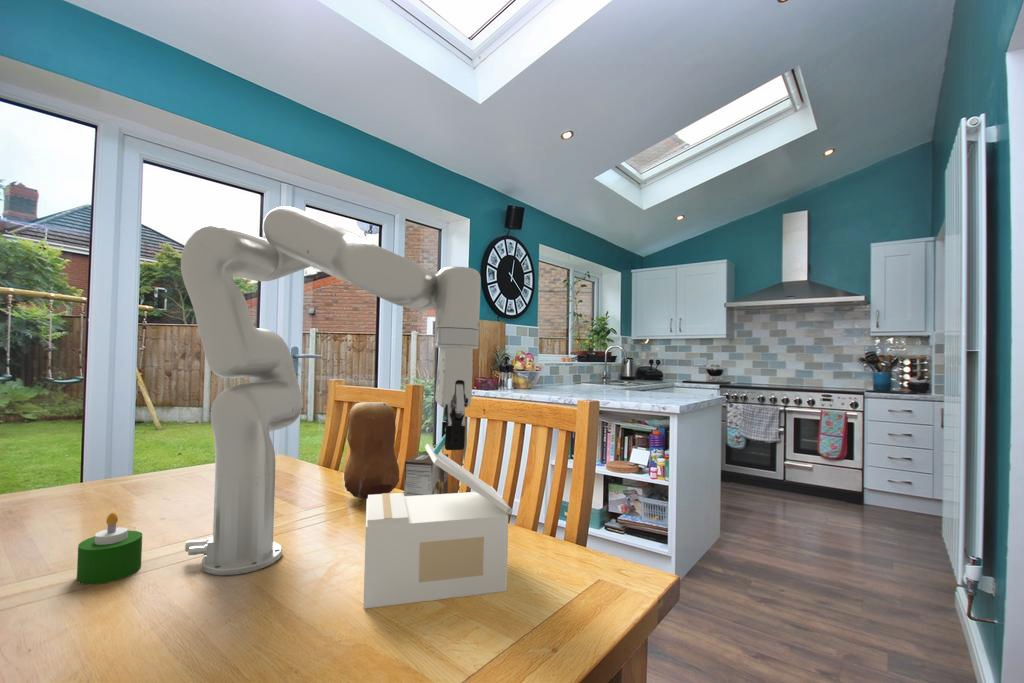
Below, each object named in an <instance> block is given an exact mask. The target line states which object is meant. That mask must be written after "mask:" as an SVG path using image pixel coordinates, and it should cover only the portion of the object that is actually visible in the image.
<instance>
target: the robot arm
mask: <svg viewBox="0 0 1024 683" xmlns="http://www.w3.org/2000/svg"><path fill="white" fill-rule="evenodd" d="M262 231H263V233H262V234H263V236H264V238H263V237H261V236H257V235H255V234H253V233H250V232H248V231H245V230H242V229H240V228H237V227H232V226H229V225H225V224H210V225H205V226H201V227H200V228H198V229H196V230H195V231H194V232H193V234H191V235H190V237H188V239H187V241H186V242H185V244H184V246H183V249H182V251H181V258H180V270H181V275H182V277H181V278H182V280H183V284H184V286H185V289H186V292H187V294H188V296H189V299H190V302H191V305H192V309H193V312H194V316H195V320H196V324H197V329H198V333H199V337H200V340H201V344H202V348H203V352H204V355H205V359H206V361H207V362H206V363H207V365H208V367H209V369H210V371H211V372H212V373H213V374H214V375H216V376H217V377H220V378H224V379H225V378H226V379H244V378H245V379H246V378H248V380H249V383H247V382H246V383H240V384H236V385H233V386H230V387H227V388H226V389H223V391H221V393H219V394H218V395H217V396H216V397H215V399H214V401H213V402H212V405H211V408H210V423H211V430H212V433H213V441H214V453H215V454H214V456H215V457H214V459H215V460H214V462H215V463H214V465H215V467H214V492H213V493H214V497H213V503H214V504H213V525H212V526H213V527H212V528H213V529H212V536H208V537H207V538H206V539H205V538H204V539H200V538H199V539H197V538H196V539H188V540H187V541H186V542H185V545H184V546H185V547H184V551H185V552H187V554H188V556H197V555H203V558H202V559H201V564H200V565H201V569H202V570H203V571H204V572H205V573H208V574H210V575H216V576H232V575H241V574H247V573H251V572H252V573H253V572H255V571H258V570H261V569H264V568H266V567H269V566H270V565H273V564H274V563H276V562H277V561H278V560H279V559H281V557H282V555H283V547H282V545H281V544H280V543H278V542H277V541H274V525H275V524H274V522H275V498H276V497H275V496H276V494H275V493H276V491H275V490H276V452H275V447H274V444H273V442H272V438H271V435H270V432H274V431H278V430H281V429H284V428H287V427H289V426H291V425H293V423H295V422H296V421H297V419H299V417H300V415H301V412H302V408H303V397H302V392H301V388H300V384H299V380H298V377H297V373H296V370H295V367H294V366H295V365H294V362H293V359H292V355H291V352H290V349H289V347H288V345H287V343H286V341H285V339H283V337H282V336H280V334H278V333H276V332H275V331H272V330H270V329H265V328H258V327H255V325H254V322H253V321H252V318H251V314H250V310H249V306H248V302H247V300H246V298H245V296H244V294H243V292H242V291H241V289H240V288H239V286H238V285H237V284H236V282H235V279H234V277H237V278H243V279H246V280H251V281H255V282H272V281H274V280H277V279H280V278H282V277H286V276H289V275H291V274H295V273H298V272H299V271H303V270H305V269H308V268H311V267H312V268H315V269H316V270H318V271H320V272H322V273H325V274H326V275H329V276H330V277H331V276H332V277H333V278H335V279H338V280H339V281H344V282H346V283H348V284H350V285H352V286H354V287H356V288H359V289H360V290H363V291H365V292H368V293H370V294H372V295H374V296H376V297H378V298H381V299H382V300H385V301H387V302H389V303H392V304H394V305H395V306H396V305H397V306H399V307H403V308H407V309H411V310H412V311H419V312H421V311H423V312H424V311H425V312H426V311H432V310H435V317H434V318H435V319H434V320H435V321H434V323H435V324H434V343H433V344H434V348H439V353H438V359H437V367H436V368H437V369H436V372H437V373H436V385H435V386H436V387H435V394H434V395H435V396H434V400H435V402H436V403H437V404H438V405H439V406H440V407H441V408H443V411H442V412H443V413H442V422H441V439H442V438H443V436H444V435H445V445H444V449H445V450H446V451H463V450H464V449H465V440H466V439H465V438H466V436H465V434H466V425H465V424H466V408H469V407H470V406H471V405H472V404H471V403H472V393H473V392H472V391H473V390H472V389H473V362H474V361H473V350H479V337H480V334H479V333H480V313H481V312H480V309H481V286H482V285H481V284H482V283H481V282H482V281H481V279H482V278H481V275H480V272H479V271H478V270H477V269H474V268H471V267H469V266H468V267H465V266H446V267H445V266H444V267H443V268H440V270H439V271H435V270H434V271H433V270H430V269H428V268H425V267H423V266H422V265H421V264H418V263H416V262H415V261H413V260H411V259H408V258H406V257H404V256H402V255H399V254H397V253H394V252H393V251H390V250H388V249H386V248H384V247H381V246H379V245H377V244H374V243H372V242H370V241H368V240H365V239H363V238H362V237H361V236H360V235H358V234H356V233H353V232H352V231H349V230H347V229H345V228H342V227H340V226H337V225H336V224H333V223H331V222H329V221H327V220H325V219H322V218H320V217H319V216H318V217H317V216H315V215H313V214H311V213H310V212H309V213H308V212H307V211H304V210H301V209H299V208H297V207H292V206H279V207H278V206H277V207H276V208H273V209H271V210H270V211H269V212H268V213H267V214H266V215H265V216H264V219H263V220H262Z"/></svg>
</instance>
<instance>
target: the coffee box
mask: <svg viewBox="0 0 1024 683" xmlns="http://www.w3.org/2000/svg"><path fill="white" fill-rule="evenodd" d="M443 454H444V455H445V456H447V457H448V458H449V453H443ZM448 479H449V473H447V472H446V471H444V470H443V469H441V468H440V467H438V466H437V465H435V464H434V463H433V461H432V459H431V457H430V456H429V454H428V452H421V453H419V454H416V455H415V456H413V457H411V458H409V459H407V460H406V461H404V487H403V488H404V490H403V491H404V493H403V495H404V496H418V495H434V494H449V492H448V485H449V484H448V483H449V480H448Z"/></svg>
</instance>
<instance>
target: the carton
mask: <svg viewBox="0 0 1024 683" xmlns="http://www.w3.org/2000/svg"><path fill="white" fill-rule="evenodd" d="M365 508H366V510H365V512H366V513H365V515H366V516H365V541H364V543H365V544H364V547H365V548H364V573H363V574H364V578H363V579H364V580H363V609H364V610H365V609H373V608H381V607H390V606H396V605H403V604H404V605H406V604H413V603H414V604H415V603H422V602H427V601H437V600H444V599H453V598H462V597H469V596H477V595H479V596H480V595H485V594H493V593H500V592H502V593H503V592H507V591H508V590H507V589H508V556H509V555H508V554H509V553H508V547H509V546H508V545H509V543H508V542H509V515H508V514H507V513H506V512H505V511H503V510H502V509H501V508H499V507H498V506H496V505H495V504H493V503H492V502H490V501H489V500H487V499H486V498H484V497H483V496H481V495H480V494H478V493H477V492H475V491H471V492H470V491H469V492H454V493H452V492H451V493H447V494H434V495H418V496H404V493H403V492H395V493H394V492H393V493H391V492H390V493H382V494H374V495H368V499H366V507H365Z"/></svg>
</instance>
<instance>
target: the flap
mask: <svg viewBox="0 0 1024 683" xmlns="http://www.w3.org/2000/svg"><path fill="white" fill-rule="evenodd" d="M424 446H425V447H424V448H425V450H426V453H428V454H429V456H430V457H431V459H432V461H433V463H434V464H435V465H437V466H438V467H440V468H441V469H443V470H444V471H446V472H447V473H448V475H449V476H452V477H454V478H455V479H456V480H458V481H459V482H461V483H462V484H463V485H465V486H466V487H469V489H471V490H472V491H473V492H477V493H478V494H480V495H481V496H483V497H484V498H486V499H487V500H489V501H490V502H492V503H493V504H495V505H496V506H498V507H499V508H501V509H502V510H503V511H505V512H506V514H507V515H508V516H510V515H512V514H513V509H512V507H511V506H509V504H508V503H507V502H506V501H505V499H503V497H501V495H500V494H499V493H498V492H497V490H496V489H495V488H494V487H493V486H491V485H489V484H488V483H486V482H485V481H483V480H482V479H480V478H479V477H478V476H476V475H475V474H473V473H472V472H470V471H469V470H467V469H466V468H464V467H463V466H462V465H459V463H457V462H455V461H454V460H453V459H451V458H450V457H449V456H448V457H447V456H445V455H444V454H445V453H443V452H441V450H442V449H443V447H445V435H444V436H443V438H442V437H441V439H440V440H439V442H438V443H437V445H436V446H435V447H434V446H432V445H431V444H429V443H426V444H425V445H424Z"/></svg>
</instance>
